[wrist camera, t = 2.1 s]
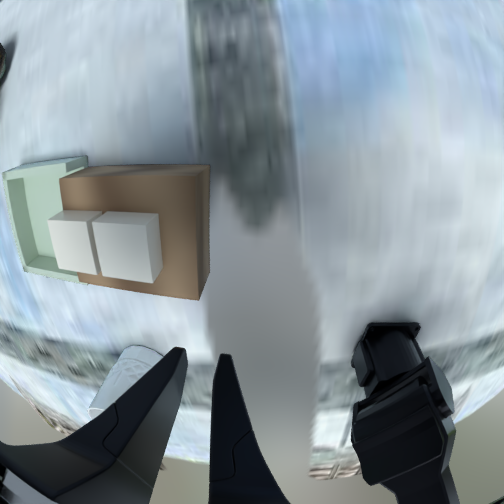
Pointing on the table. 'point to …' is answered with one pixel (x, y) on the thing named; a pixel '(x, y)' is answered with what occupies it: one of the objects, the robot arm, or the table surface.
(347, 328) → the table surface
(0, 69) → the seashell
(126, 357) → the white cup
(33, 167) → the tray
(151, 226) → the tile
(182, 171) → the tan cardboard slab
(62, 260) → the tile
